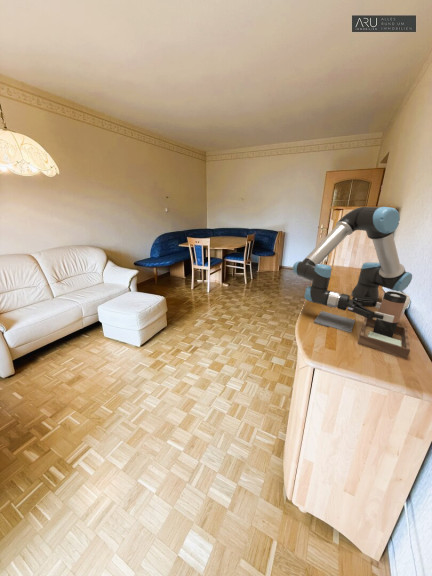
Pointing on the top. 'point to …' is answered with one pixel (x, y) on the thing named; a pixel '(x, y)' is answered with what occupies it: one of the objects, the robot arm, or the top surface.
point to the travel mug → (390, 313)
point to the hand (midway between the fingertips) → (393, 314)
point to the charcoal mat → (335, 321)
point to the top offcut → (384, 338)
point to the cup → (405, 301)
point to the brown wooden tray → (386, 346)
